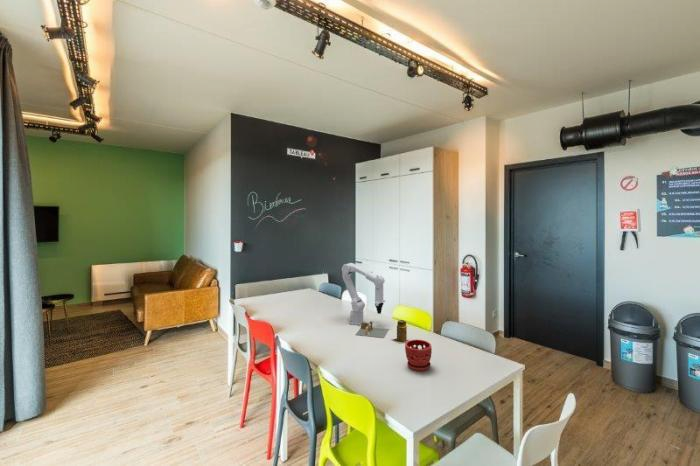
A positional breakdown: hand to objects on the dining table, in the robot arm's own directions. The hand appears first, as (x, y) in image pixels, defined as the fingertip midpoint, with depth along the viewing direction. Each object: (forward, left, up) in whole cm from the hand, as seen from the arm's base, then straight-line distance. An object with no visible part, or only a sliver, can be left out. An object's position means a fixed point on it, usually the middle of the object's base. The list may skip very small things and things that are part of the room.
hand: (379, 313), depth 225 cm
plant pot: (+32, -54, -10) cm, 64 cm away
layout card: (-2, -12, -9) cm, 15 cm away
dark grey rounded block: (-7, -8, -9) cm, 14 cm away
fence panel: (-4, -14, -9) cm, 17 cm away
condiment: (+18, -21, -10) cm, 29 cm away
